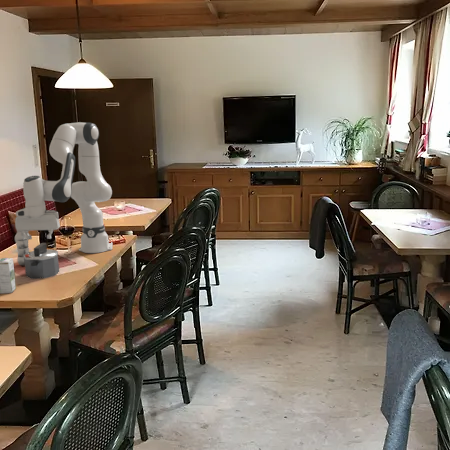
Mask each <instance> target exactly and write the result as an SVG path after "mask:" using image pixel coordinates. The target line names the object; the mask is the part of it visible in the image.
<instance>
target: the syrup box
mask: <svg viewBox="0 0 450 450" xmlns="http://www.w3.org/2000/svg"><path fill="white" fill-rule="evenodd" d="M14 267H15V265H14V258H13V257H2V258H0V294H12V293H14V291H16V289H17V288H16V275H15V268H14Z"/></svg>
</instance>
